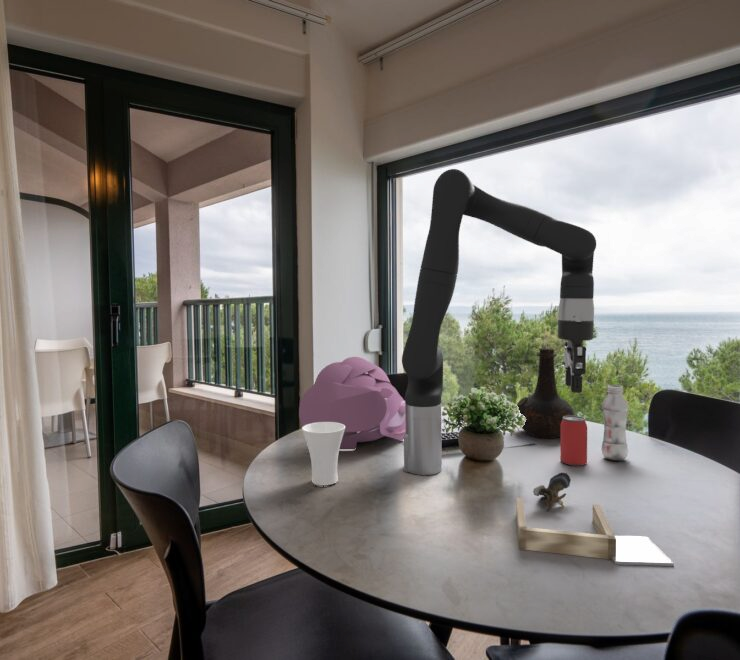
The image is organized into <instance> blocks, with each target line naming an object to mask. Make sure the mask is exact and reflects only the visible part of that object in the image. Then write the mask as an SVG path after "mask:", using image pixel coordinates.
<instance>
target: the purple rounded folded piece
mask: <svg viewBox="0 0 740 660" xmlns="http://www.w3.org/2000/svg"><path fill="white" fill-rule="evenodd" d="M298 417H299V421H300V424H301V426H302V427H303V426H305V425H307V424H311V423H317V422H336V423H341V424H343V425H345V430H344V434H343V437H342V441H341V445H340V448H339V449H355V448H356V449H357V443H364V442H365V443H366V442H373V441H376V440H378V439H381V438H383V437H388V438H392V439H394V440H397V441H401V440H403V439H404V434H405V433H406V426H405V399H404V398H403V397H402V396H401V395H400V393H399V392H398V390H397V389H396V387H395V386H394V385H392V383H391V381H390V379H389V377H388V375H387V373H386V372H385V371H384V370H383V369H382V368H381V367H379V366H378V365H377V364H374V363H372V362H371V361H368V360H366V359H364V358H363V357H361V356H350V357H347V358H345V359H344V360H342V361H335V362H332V363H330V364H328V365H326V366H325V367H323V368H322V369H321V370H320V372H318V374H317V376H316V378H315V380H314V384H313V385H312V386H310V387H309V388H308V389H307V390H306V391H305V393H303V396H302V398H301V399H300V403H299V408H298ZM401 442H402V441H401Z"/></svg>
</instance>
